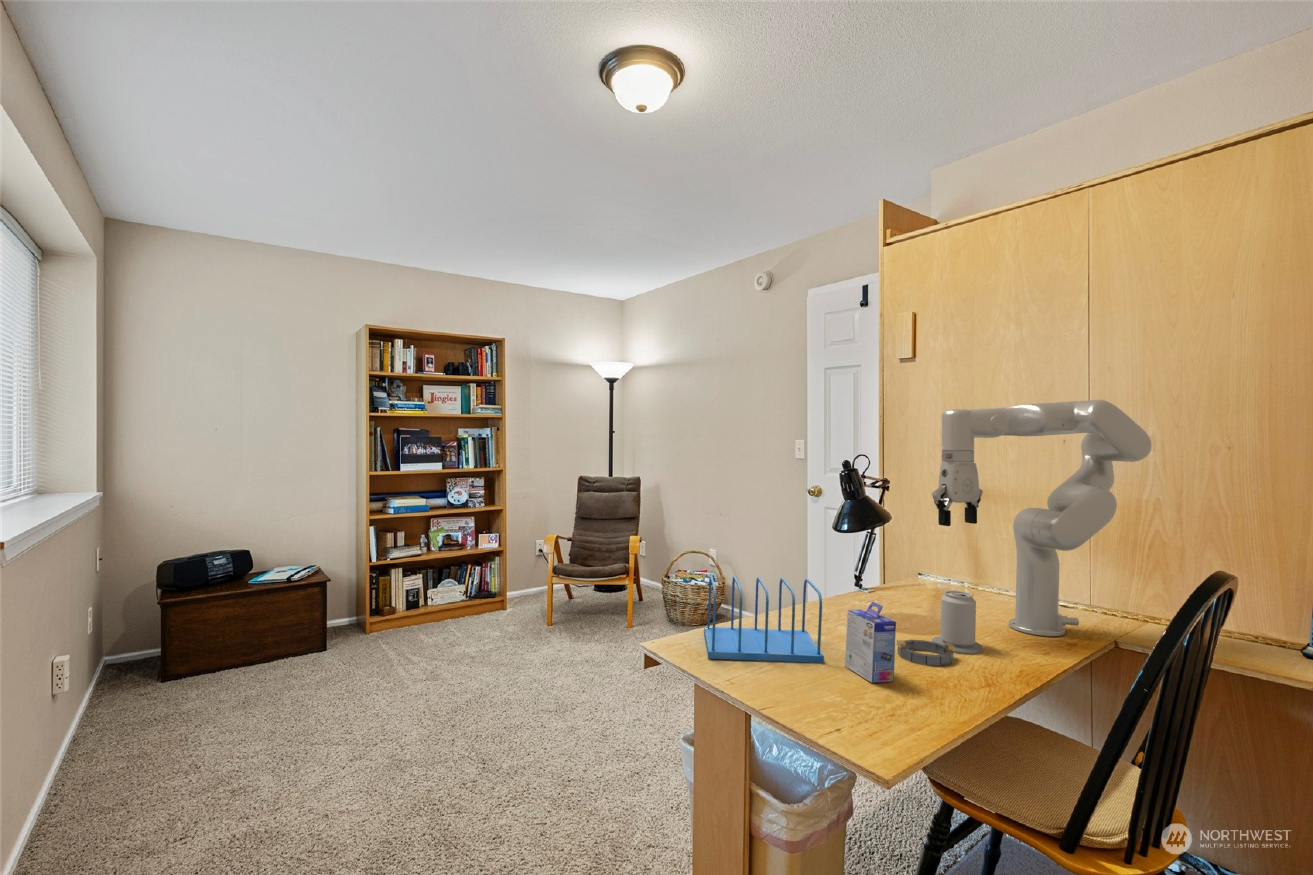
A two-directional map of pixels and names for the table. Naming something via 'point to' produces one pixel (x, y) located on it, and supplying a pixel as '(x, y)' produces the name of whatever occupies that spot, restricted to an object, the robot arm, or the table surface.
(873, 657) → the ink cartridge box
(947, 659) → the collar
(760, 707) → the table surface
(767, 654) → the file sorter
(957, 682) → the table surface
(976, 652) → the coaster
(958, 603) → the can
